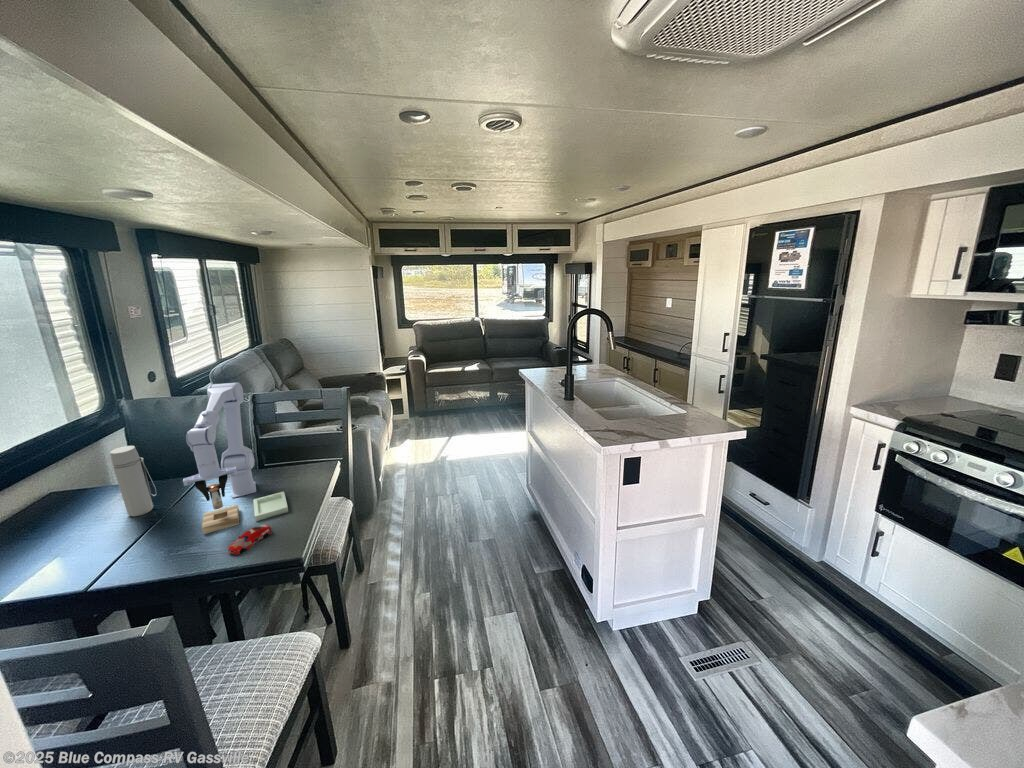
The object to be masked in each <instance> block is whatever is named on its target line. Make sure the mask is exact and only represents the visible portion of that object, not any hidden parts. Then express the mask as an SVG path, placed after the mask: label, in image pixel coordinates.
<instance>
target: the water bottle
mask: <svg viewBox="0 0 1024 768" xmlns="http://www.w3.org/2000/svg"><path fill="white" fill-rule="evenodd" d="M109 455H110V461H111V465H112V469H113V471H114V474H115V478H116V482H117V484H118V488H119V491H120V494H121V498H122V501H123V504H124V507H125V510H126V513H127V515H128V516H129V517H141V516H143V515H145V514H147V513H149V512H151V511H152V510H153V508H154V503H153V501H152V500H153V499H152V497H155V496H157V493H155V494H153V493H151V492H152V490H151V488H150V484H149V480H148V477H149V478H150V480H151V483H152V485H153V487H154V490H155V491H157V488H156V486H155V483H154V482H153V479H152V478H151V475H150V474H149V471H148V468H147V467H146V465H145V462H144V460H145V459H144V457H140V455H139V452H138V450H137V449H136V446H135V445H125V446H121V447H116V448H114V449H112V450H111V451H109ZM142 465H143V466H142ZM147 474H148V476H147ZM151 496H152V497H151Z"/></svg>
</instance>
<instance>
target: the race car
mask: <svg viewBox="0 0 1024 768" xmlns="http://www.w3.org/2000/svg"><path fill="white" fill-rule="evenodd" d="M272 533H273V529H272V527H271V525H269V524H265V523H264V524H259V525H256V526H254V527H252V528H249V529H248V530H247V531H245V532H243V533H242V534H241V535H239V536H238V538H237V539H236V540H234V541H233V542H232V543H231V544H230V545H229V546H228V548H227V549H228V550H227V552H228V554H229V555H231V556H235V555H242V554H243V553H245V552H246V551H248V550H249V549H250V548H252V547H254V546H255V545H257V544H259V543H260V542H261V541H262V542H263V541H264V540H266V539H267V538H268V537H269V536H270V535H271V534H272Z"/></svg>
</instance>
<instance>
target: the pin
mask: <svg viewBox="0 0 1024 768" xmlns="http://www.w3.org/2000/svg"><path fill="white" fill-rule="evenodd" d="M207 491H208V493H209V496H210V501H211V505H212V508H213V510H219V509H223V508H224V504H223V500H222V499H223V497H222V493H221V492H220V491H221V487H220V484H219V483H213V484H210V485H208V486H207Z"/></svg>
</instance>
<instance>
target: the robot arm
mask: <svg viewBox="0 0 1024 768" xmlns="http://www.w3.org/2000/svg"><path fill="white" fill-rule="evenodd" d="M206 391H207V392H206V393H207V397H208V402H207V406H206V409H205V410H204V411H201V412H200V413H199V416H198V418H197V420H196V422H195V424H194V426H193V428H191V429H190V430H187V432H186V435H185V439H186V440H185V441H186V444H187V446H188V447H189V448H190V451H191V452H193V455H194V459H195V463H196V467H197V470H198V473H197V474H194V475H191V476H188V477H183V480H182V483H183V486H184V487H186V486H189V485H192V484H194V486H195V488H196V489H197V490H198V491H199V492H201V494H202V495H203V496H204V497H205V500H206V501H207V502H209V501H211V497H210V492H208V491H207V487H208V486H207V482H206V481H211V480H214V479H216V478H217V479H218V484H220V487H221V488H220V491H221V492H220V494H221V498H225V497H226V485H227V482H228V480H229V481H230V486H231V499H235V498H238V497H243V496H246V495H250V494H254V493H256V492H257V486H256V485H257V484H256V481H254V479H253V473H252V470H253V467H255V457H254V454H253V451H252V449H251V448H249V447H247V446H246V445H244V439H243V427H242V416H241V404H243V403H244V401H245V400H244V399H245V398H244V388H243V386H242V384H241V383H240V382H227V383H210V384H209V385H208V387H207V389H206ZM222 407H223V408H224V413H225V414H224V415H225V425H226V426H225V427H226V435H227V438H226V439H227V449H226V450H225V451H224V452H222V454H221V460H220V464H219V460H218V455H217V451H216V447H215V443H216V442H215V441H216V438H217V430H216V428H217V426H218V423H219V422H220V418H221V417H220V415H219V412H220V411H221V409H222ZM228 476H229V479H228Z"/></svg>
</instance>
